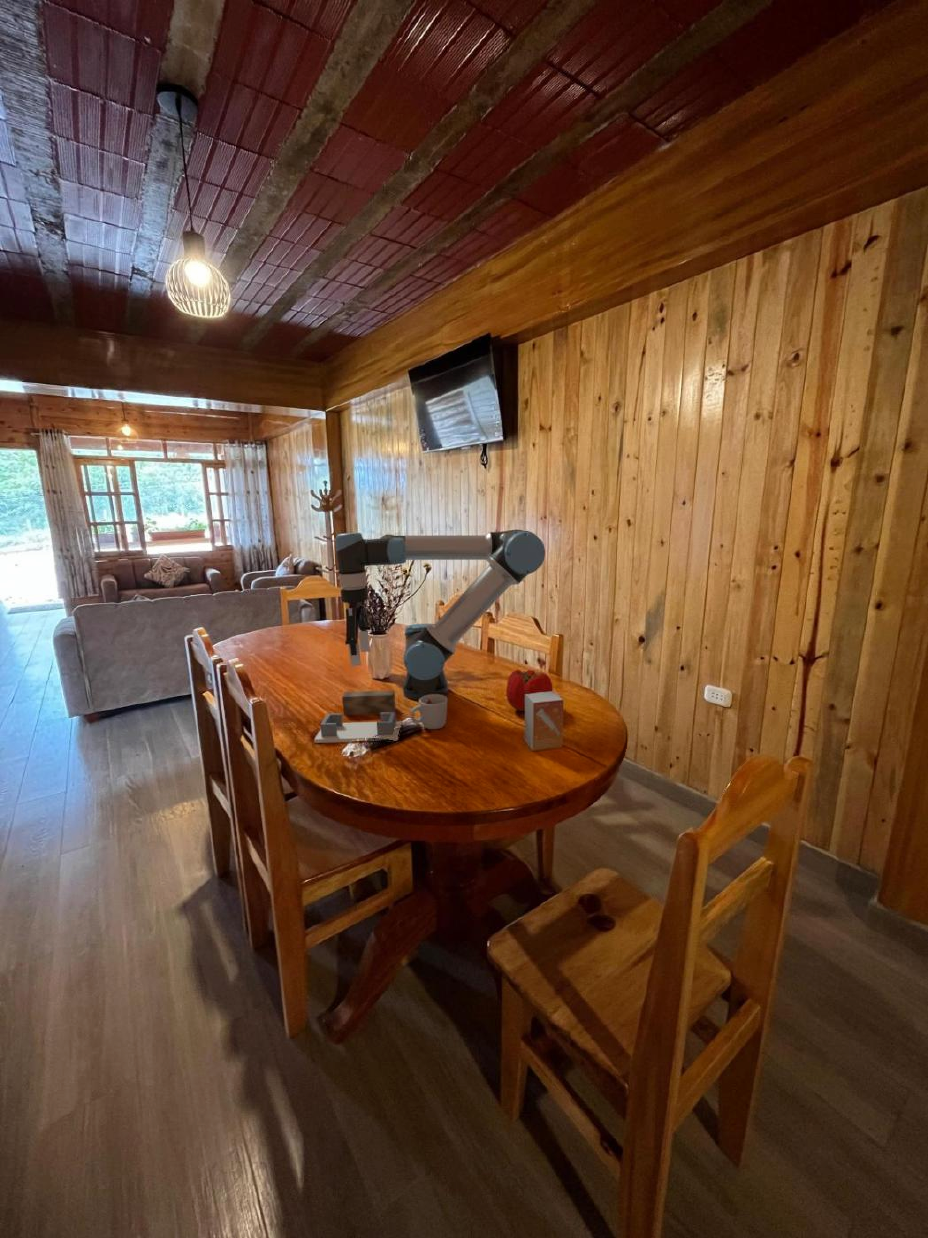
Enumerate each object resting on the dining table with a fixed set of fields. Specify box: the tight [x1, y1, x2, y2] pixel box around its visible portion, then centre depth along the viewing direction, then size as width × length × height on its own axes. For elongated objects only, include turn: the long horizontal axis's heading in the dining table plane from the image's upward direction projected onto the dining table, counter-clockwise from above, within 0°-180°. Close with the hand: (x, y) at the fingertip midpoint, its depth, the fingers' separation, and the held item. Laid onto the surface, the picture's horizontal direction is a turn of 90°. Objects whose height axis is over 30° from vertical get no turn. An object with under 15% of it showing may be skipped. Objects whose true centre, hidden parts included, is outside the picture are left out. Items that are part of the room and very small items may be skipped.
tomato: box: [505, 669, 554, 712], centre depth 150 cm, size 13×14×12 cm
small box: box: [524, 690, 564, 752], centre depth 127 cm, size 8×6×13 cm
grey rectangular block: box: [341, 689, 396, 716], centre depth 152 cm, size 15×4×6 cm, turn 91°
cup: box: [410, 694, 448, 730], centre depth 140 cm, size 11×8×8 cm
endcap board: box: [314, 711, 403, 744], centre depth 137 cm, size 22×10×4 cm, turn 90°
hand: (360, 658), depth 149 cm, fingers open, 13 cm apart
